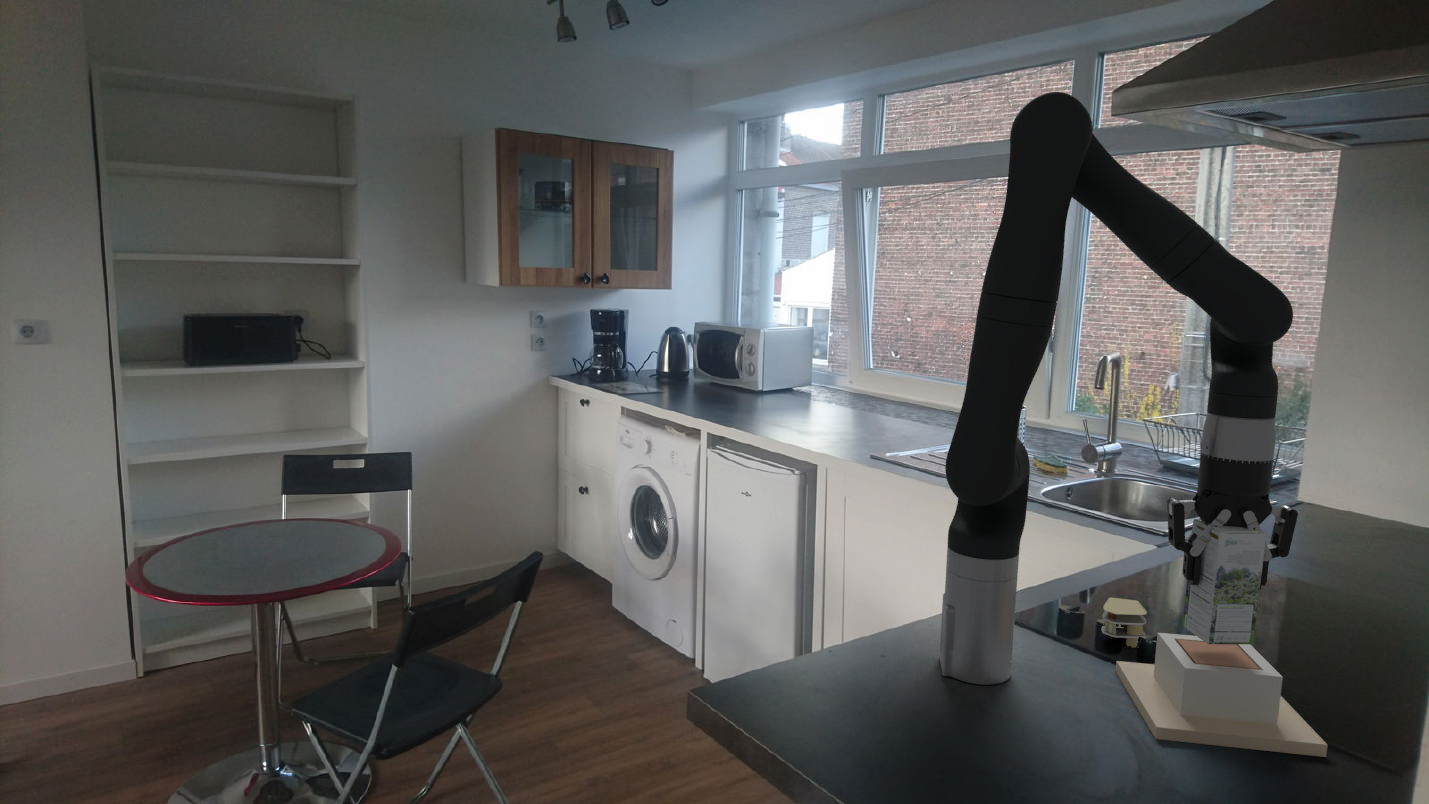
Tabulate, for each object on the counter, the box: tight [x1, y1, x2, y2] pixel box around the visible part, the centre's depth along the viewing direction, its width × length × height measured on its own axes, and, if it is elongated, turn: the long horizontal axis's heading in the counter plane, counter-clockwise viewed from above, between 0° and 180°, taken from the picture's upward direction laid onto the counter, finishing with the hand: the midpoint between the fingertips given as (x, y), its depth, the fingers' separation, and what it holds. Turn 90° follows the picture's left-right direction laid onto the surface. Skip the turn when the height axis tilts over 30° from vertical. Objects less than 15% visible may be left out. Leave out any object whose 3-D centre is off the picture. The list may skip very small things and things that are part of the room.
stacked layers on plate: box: [1101, 597, 1148, 648], centre depth 129 cm, size 10×9×6 cm
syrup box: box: [1182, 518, 1267, 645], centre depth 106 cm, size 6×6×14 cm
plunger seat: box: [1177, 640, 1259, 670], centre depth 108 cm, size 7×7×1 cm
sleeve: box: [1115, 632, 1329, 758], centre depth 108 cm, size 18×18×8 cm
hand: (1223, 585), depth 106 cm, fingers closed on syrup box, 6 cm apart
